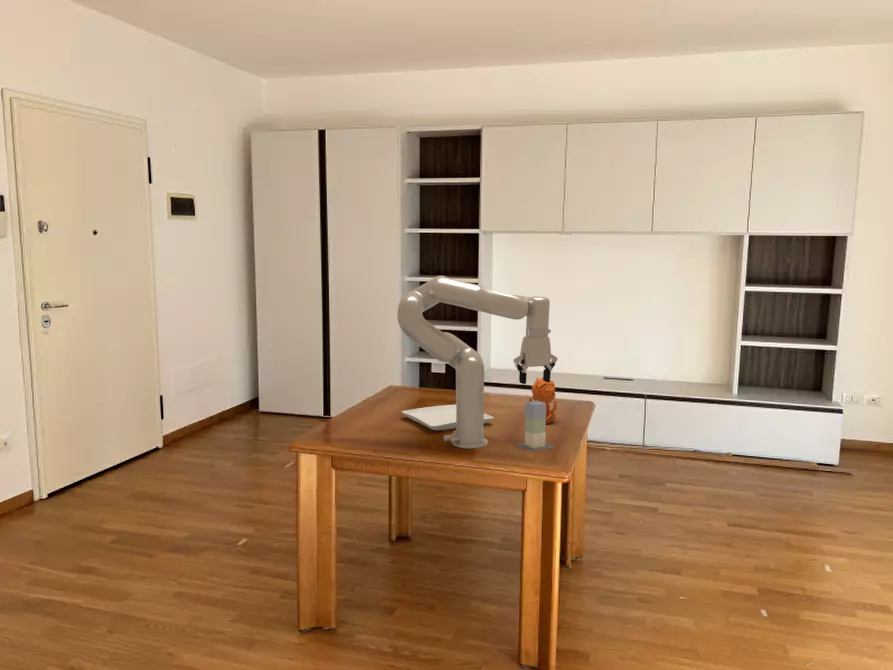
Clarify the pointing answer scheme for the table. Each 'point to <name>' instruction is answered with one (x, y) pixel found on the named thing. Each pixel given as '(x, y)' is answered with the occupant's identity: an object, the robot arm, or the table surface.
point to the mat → (534, 448)
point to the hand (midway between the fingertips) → (534, 382)
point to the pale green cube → (535, 425)
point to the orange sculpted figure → (545, 396)
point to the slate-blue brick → (535, 410)
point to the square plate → (437, 417)
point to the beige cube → (535, 439)
